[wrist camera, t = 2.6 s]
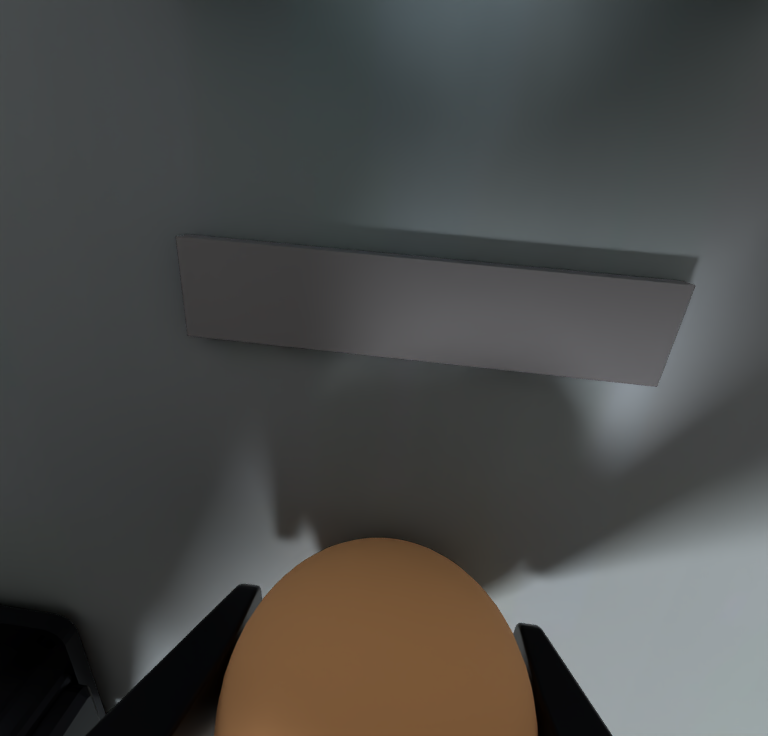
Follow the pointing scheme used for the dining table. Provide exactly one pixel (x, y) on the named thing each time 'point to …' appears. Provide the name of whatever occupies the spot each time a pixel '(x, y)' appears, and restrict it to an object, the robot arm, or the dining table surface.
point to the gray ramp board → (431, 308)
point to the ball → (376, 652)
